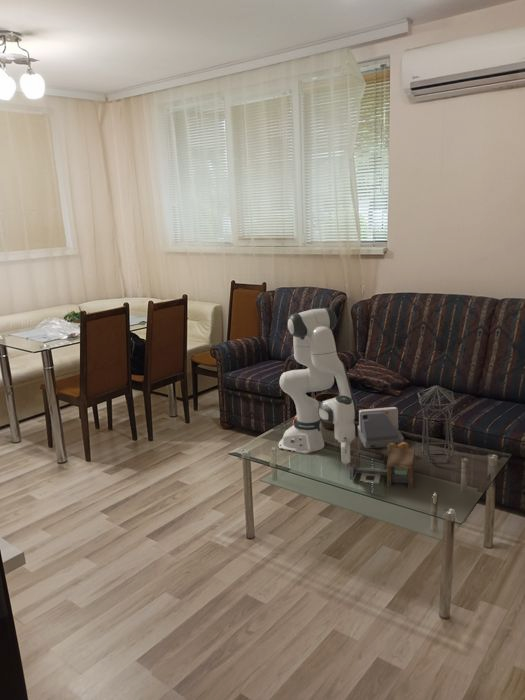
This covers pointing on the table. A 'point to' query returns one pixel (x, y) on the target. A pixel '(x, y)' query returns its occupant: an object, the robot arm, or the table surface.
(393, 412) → the instant camera
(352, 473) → the sled collar
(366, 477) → the pit board
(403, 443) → the lion figurine
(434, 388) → the geometric lantern
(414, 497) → the table surface
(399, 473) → the block
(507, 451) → the table surface
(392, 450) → the tunnel
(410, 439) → the table surface
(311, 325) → the robot arm
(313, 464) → the table surface
